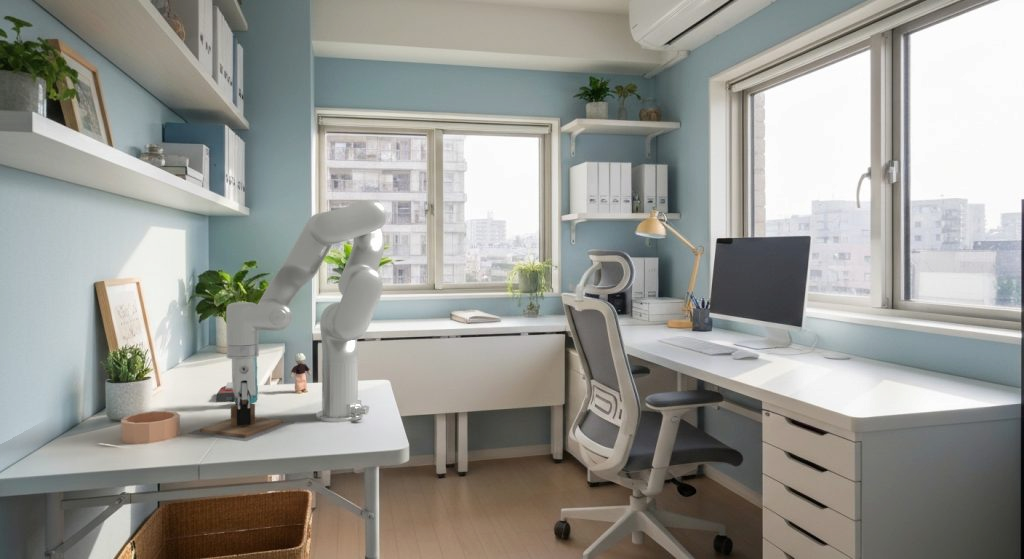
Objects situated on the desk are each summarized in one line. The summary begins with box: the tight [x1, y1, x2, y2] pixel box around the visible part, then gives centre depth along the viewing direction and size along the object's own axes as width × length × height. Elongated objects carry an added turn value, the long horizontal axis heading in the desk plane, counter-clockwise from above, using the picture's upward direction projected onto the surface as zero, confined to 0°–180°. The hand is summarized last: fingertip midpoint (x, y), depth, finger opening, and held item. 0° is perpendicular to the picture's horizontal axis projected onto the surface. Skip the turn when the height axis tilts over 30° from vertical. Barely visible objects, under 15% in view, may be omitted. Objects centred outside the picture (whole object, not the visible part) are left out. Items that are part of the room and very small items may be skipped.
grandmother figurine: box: [289, 352, 312, 394], centre depth 206 cm, size 8×4×13 cm, turn 154°
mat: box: [187, 420, 296, 442], centre depth 163 cm, size 18×18×1 cm
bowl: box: [120, 410, 181, 445], centre depth 154 cm, size 12×12×5 cm
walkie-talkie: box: [215, 382, 235, 403], centre depth 201 cm, size 9×4×20 cm
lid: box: [199, 403, 285, 438], centre depth 162 cm, size 14×14×6 cm
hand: (242, 420), depth 163 cm, fingers closed on lid, 5 cm apart
